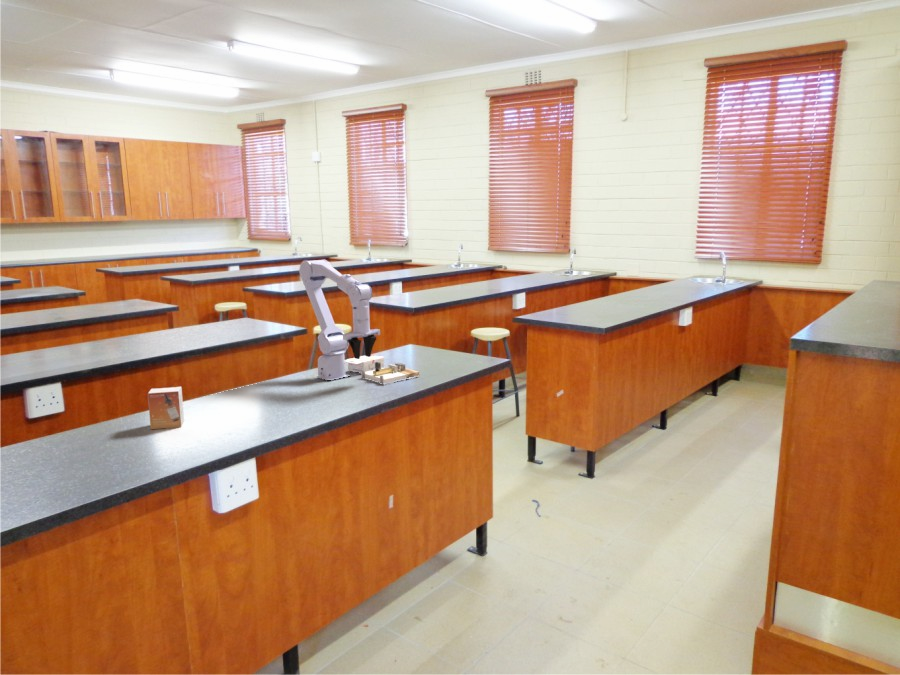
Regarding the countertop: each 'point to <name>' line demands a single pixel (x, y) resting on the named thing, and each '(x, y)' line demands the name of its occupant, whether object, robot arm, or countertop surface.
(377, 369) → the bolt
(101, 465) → the countertop surface
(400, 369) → the door jamb
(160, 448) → the countertop surface
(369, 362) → the ink cartridge box
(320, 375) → the robot arm
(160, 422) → the small box
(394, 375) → the door board
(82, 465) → the countertop surface
